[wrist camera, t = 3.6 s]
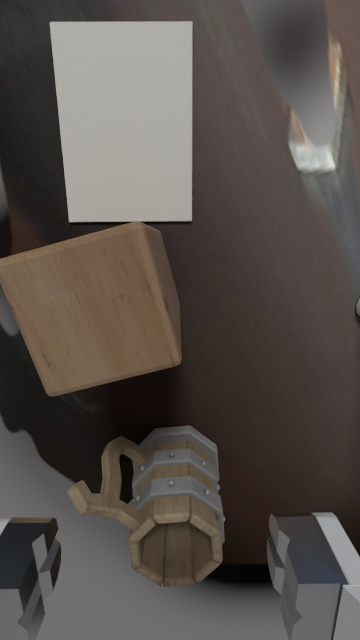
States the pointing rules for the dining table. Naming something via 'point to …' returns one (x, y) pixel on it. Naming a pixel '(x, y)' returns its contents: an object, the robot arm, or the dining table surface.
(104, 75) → the mat
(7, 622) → the robot arm
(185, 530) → the tankard
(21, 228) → the dining table surface
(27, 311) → the wooden block
